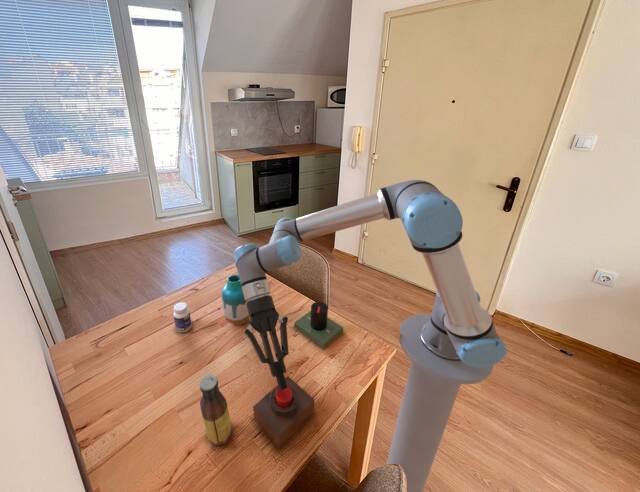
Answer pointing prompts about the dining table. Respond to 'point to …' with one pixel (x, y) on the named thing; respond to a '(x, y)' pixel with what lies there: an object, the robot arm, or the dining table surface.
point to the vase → (234, 301)
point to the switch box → (283, 413)
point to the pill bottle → (182, 317)
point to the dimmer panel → (318, 337)
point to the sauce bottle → (214, 411)
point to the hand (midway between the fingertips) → (283, 388)
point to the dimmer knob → (319, 316)
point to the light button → (284, 397)
